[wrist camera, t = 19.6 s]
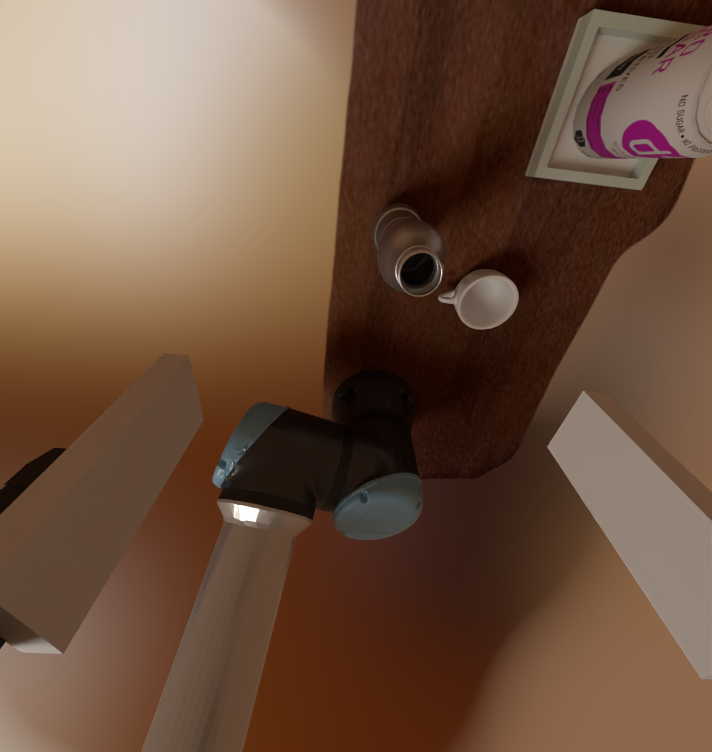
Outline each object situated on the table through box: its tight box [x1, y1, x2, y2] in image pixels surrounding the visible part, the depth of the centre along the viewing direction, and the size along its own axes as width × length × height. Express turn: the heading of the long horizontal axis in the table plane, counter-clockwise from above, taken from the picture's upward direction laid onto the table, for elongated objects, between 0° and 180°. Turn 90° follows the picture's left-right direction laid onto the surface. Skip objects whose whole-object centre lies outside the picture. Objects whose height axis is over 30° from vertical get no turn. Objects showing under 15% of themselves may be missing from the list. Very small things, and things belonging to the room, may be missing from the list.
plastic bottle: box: [372, 203, 446, 297], centre depth 33 cm, size 6×7×20 cm
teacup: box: [438, 269, 519, 329], centre depth 44 cm, size 10×8×5 cm
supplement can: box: [573, 25, 712, 159], centre depth 28 cm, size 8×8×15 cm
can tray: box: [525, 9, 706, 190], centre depth 34 cm, size 13×13×2 cm
